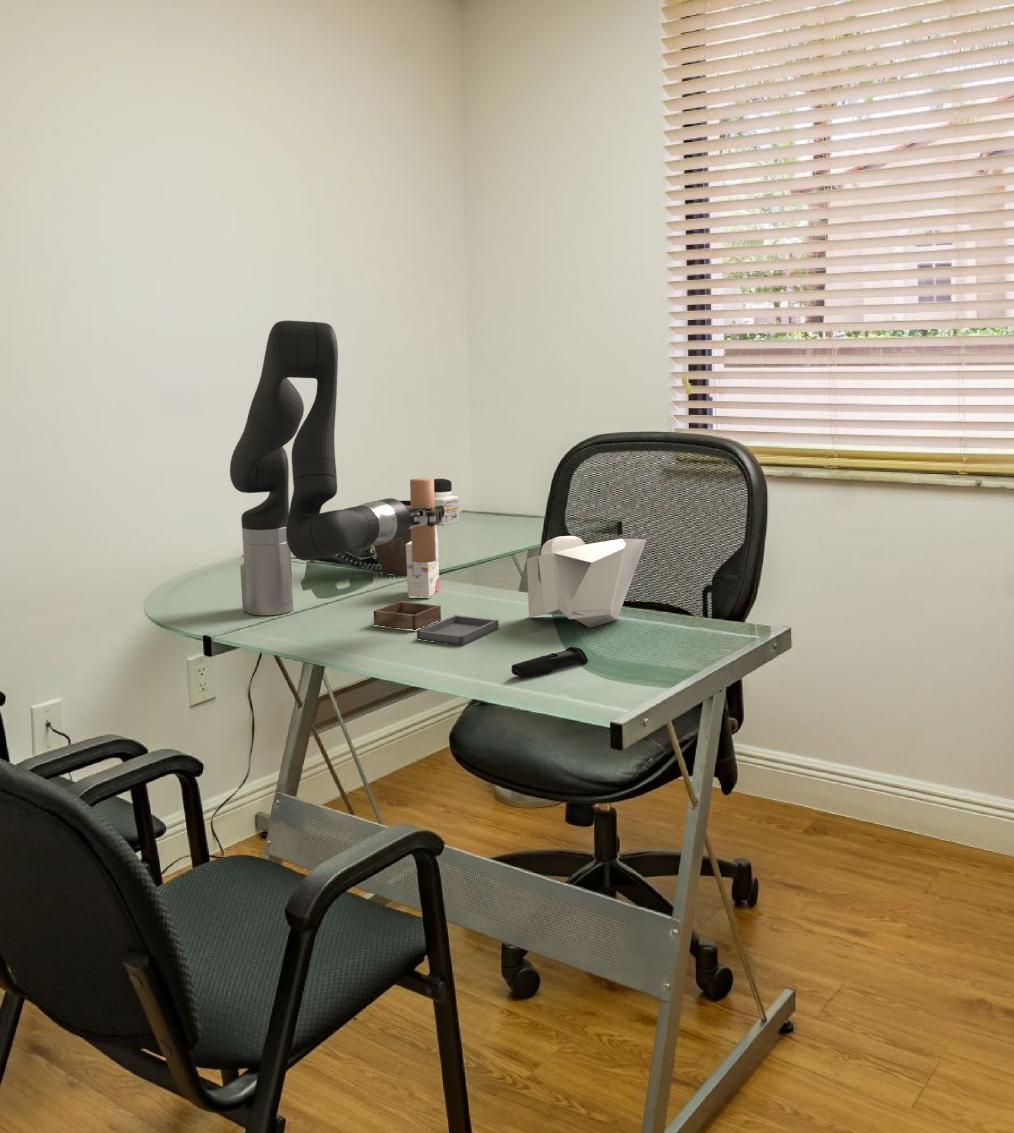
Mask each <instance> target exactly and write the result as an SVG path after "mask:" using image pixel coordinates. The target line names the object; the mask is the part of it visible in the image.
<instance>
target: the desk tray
mask: <svg viewBox="0 0 1014 1133" xmlns="http://www.w3.org/2000/svg"><path fill="white" fill-rule="evenodd" d="M497 630H499V620H498V619H491V618H481V617H472V616H464V615H456V614H455V615H452V616H449V617H447V618H445V619H441V621H440V622H437V623H435V624H432V625H430V626H428V627H425V628H423V629H420V630H418V631H416V639H421V640H427V641H434V642H439V643H438V644H442V643H447V644H446V645H449V644H451V646H457V645H459V646H458V647H463V645H464V646H465V645H468V644H469V643H472V642H474V641H476V640H479V639H481V638H482V637H485V636H487V635H489V634H491V633H494V632H496V631H497ZM427 641H426V642H427ZM434 642H433V643H434ZM467 643H468V644H467Z"/></svg>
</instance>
